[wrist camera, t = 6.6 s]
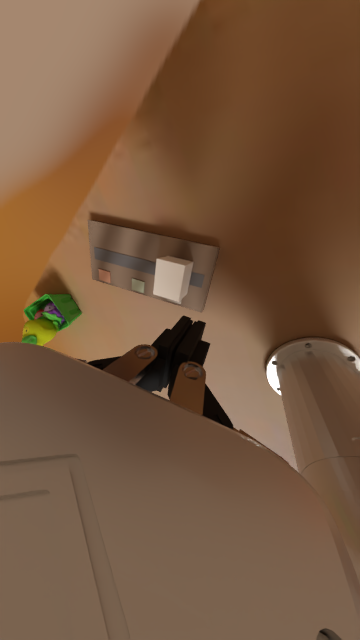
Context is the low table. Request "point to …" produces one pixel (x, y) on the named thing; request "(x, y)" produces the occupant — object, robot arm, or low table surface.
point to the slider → (172, 277)
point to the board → (148, 261)
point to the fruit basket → (48, 317)
